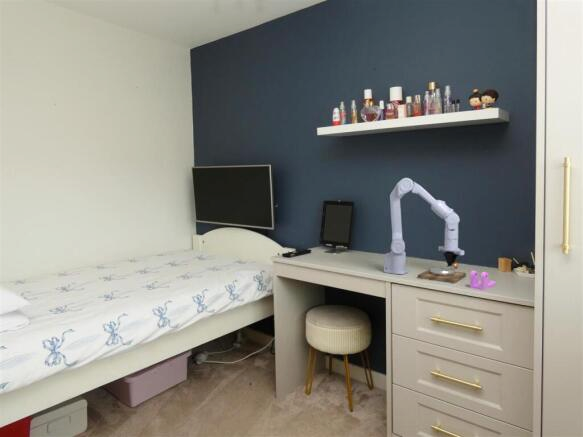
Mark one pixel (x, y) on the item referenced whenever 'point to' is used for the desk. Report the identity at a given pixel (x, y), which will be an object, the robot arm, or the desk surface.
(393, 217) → the robot arm
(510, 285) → the desk surface
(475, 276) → the bracket
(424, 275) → the dial plate
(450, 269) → the dial
